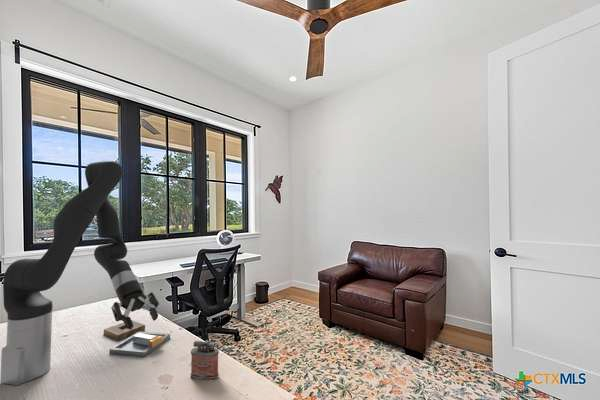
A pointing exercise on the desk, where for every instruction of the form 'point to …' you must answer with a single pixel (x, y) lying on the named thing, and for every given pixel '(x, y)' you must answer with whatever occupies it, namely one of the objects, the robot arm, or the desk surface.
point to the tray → (136, 346)
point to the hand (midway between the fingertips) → (144, 323)
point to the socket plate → (123, 330)
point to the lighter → (204, 361)
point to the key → (147, 339)
